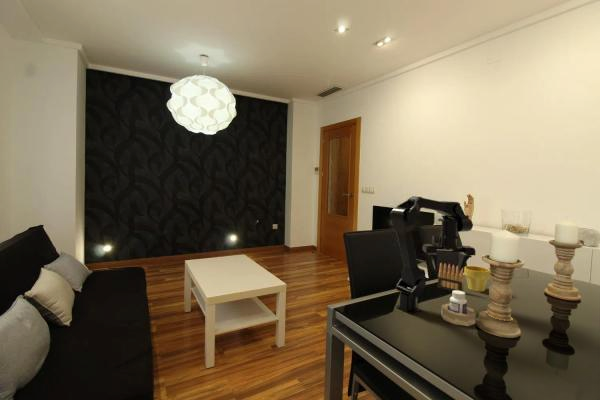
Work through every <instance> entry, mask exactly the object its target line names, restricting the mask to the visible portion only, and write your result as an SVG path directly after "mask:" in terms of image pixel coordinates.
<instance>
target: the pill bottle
mask: <svg viewBox="0 0 600 400" xmlns="http://www.w3.org/2000/svg"><path fill="white" fill-rule="evenodd" d="M451 292H452V296H450V297H449V303H450V309H449V310H450V311H453V312H455V313H462V314H467V307H468V300H467V299H466V292H465V291H463V292H462V291H458V290H454V291H451Z"/></svg>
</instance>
